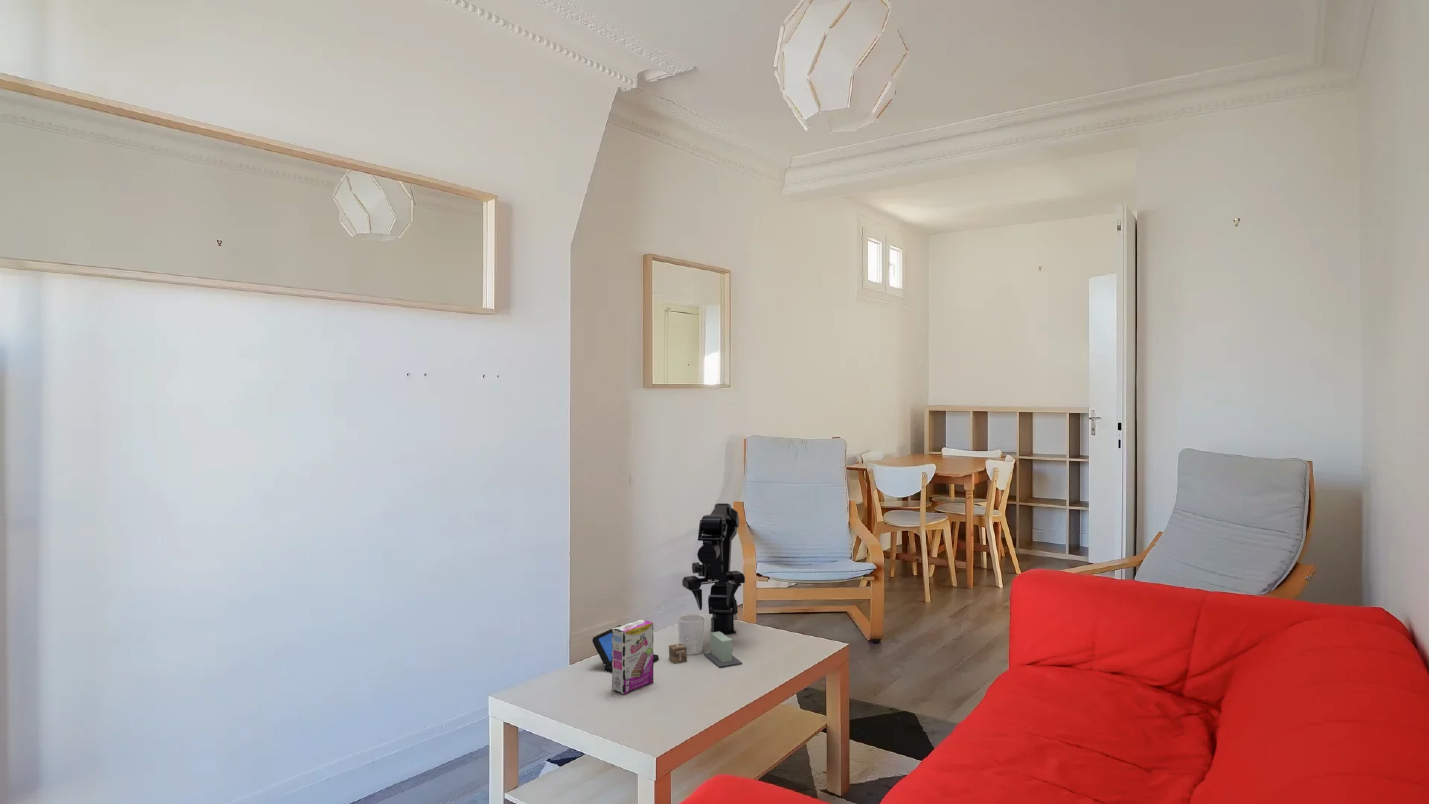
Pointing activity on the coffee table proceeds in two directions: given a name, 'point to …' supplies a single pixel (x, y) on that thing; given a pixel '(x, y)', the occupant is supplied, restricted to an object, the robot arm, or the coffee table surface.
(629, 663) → the candy bar box
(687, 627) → the white cup
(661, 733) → the coffee table surface
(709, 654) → the dark gray panel
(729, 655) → the sage rectangular block
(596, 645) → the game console
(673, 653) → the letter block
